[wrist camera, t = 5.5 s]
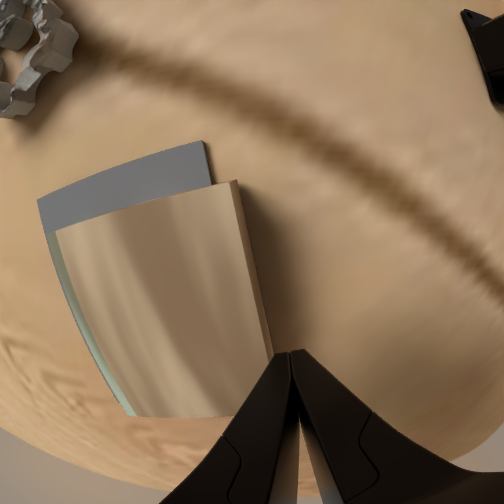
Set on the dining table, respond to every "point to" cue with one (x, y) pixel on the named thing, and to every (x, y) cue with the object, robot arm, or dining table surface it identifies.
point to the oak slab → (169, 302)
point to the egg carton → (32, 50)
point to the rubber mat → (125, 190)
